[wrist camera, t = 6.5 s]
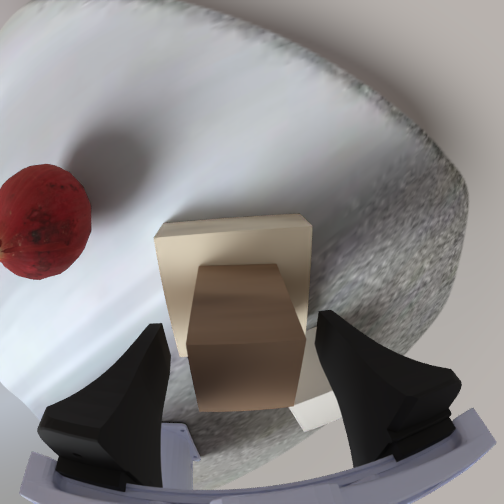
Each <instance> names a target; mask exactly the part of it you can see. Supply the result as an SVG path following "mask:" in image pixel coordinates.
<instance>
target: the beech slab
mask: <svg viewBox="0 0 504 504" xmlns="http://www.w3.org/2000/svg"><path fill="white" fill-rule="evenodd" d="M154 243H155V248H156V254H157V260H158V265H159V270H160V275H161V280H162V285H163V290H164V295H165V299H166V304H167V308H168V312H169V317H170V321H171V325H172V329H173V333H174V337H175V341H176V344H177V348H178V352H179V356H180V357H188V355H187V349H186V339H187V333H188V326H189V320H190V313H191V307H192V301H193V295H194V290H195V284H196V278H197V273H198V267H199V266H211V265H248V264H277V266H278V268H279V271H280V273H281V276H282V278H283V281H284V283H285V286H286V288H287V291H288V293H289V296H290V298H291V301H292V303H293V306H294V308H295V311H296V314H297V316H298V319H299V321H300V324H301V326H302V329H303V331H304V334H306V323H307V311H308V299H309V285H310V268H311V249H312V225H311V224H310V223H309V222H308V221H307V220H306V219H305V218H304V217H303V216H302V215H300V214H279V215H262V216H247V217H232V218H219V219H206V220H194V221H182V222H171V223H163V224H162V226H161V227H160V229H159V231H158V232H157V234H156V235H155V237H154Z"/></svg>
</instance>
